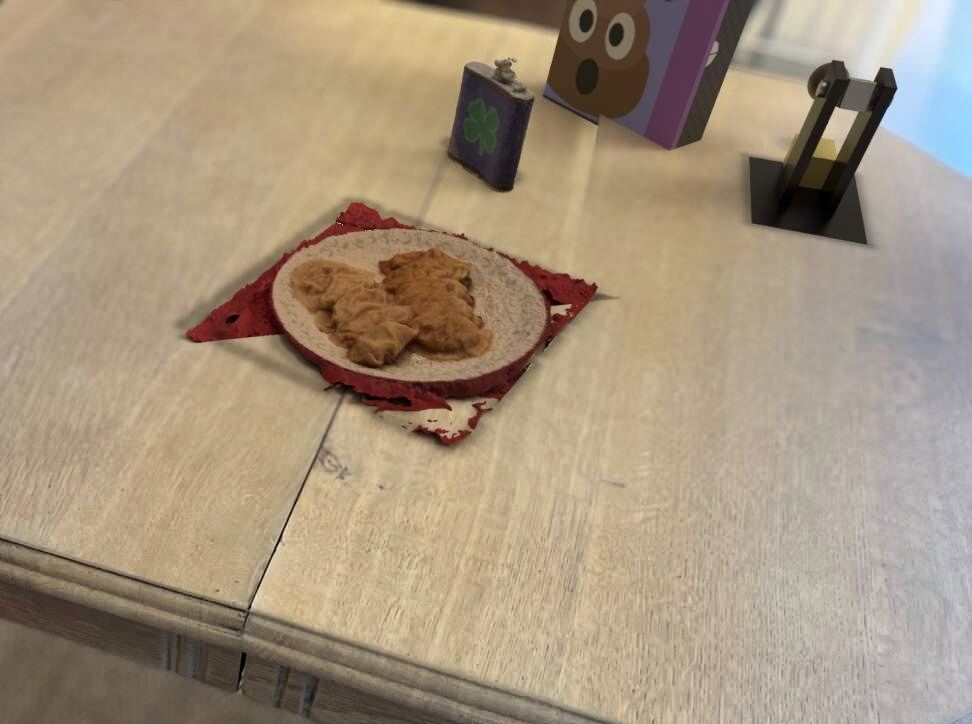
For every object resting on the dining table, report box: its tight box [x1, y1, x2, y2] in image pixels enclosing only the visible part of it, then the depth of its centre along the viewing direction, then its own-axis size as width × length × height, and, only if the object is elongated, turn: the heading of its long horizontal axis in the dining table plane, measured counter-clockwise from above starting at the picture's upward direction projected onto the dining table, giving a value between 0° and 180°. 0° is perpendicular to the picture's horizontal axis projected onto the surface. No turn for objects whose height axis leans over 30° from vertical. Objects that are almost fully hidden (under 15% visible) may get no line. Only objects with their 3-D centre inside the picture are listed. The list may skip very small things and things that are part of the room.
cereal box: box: [542, 0, 755, 151], centre depth 104 cm, size 17×5×24 cm, turn 33°
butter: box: [782, 133, 838, 190], centre depth 102 cm, size 5×4×3 cm
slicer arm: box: [806, 62, 877, 112], centre depth 98 cm, size 15×4×4 cm, turn 162°
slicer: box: [748, 59, 898, 246], centre depth 96 cm, size 14×10×13 cm
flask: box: [446, 57, 535, 194], centre depth 100 cm, size 9×3×11 cm, turn 28°
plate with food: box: [184, 201, 599, 446], centre depth 85 cm, size 24×26×4 cm
